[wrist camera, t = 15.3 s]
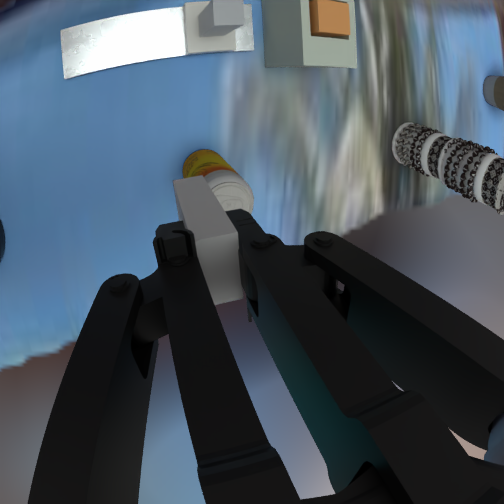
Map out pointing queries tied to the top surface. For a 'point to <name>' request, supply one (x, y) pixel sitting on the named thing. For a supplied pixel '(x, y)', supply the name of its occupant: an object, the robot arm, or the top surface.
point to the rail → (134, 40)
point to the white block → (303, 37)
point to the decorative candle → (452, 163)
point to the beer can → (220, 180)
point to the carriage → (212, 25)
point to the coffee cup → (494, 91)
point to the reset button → (329, 18)
